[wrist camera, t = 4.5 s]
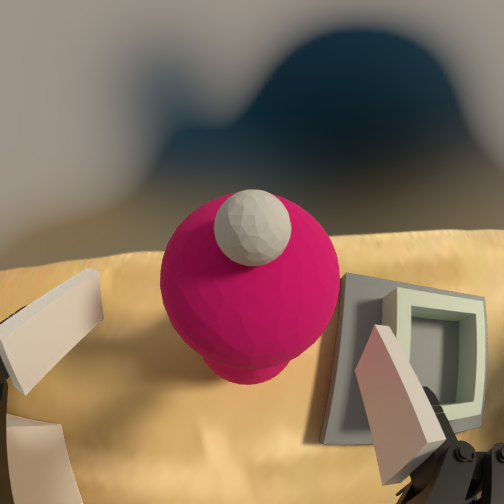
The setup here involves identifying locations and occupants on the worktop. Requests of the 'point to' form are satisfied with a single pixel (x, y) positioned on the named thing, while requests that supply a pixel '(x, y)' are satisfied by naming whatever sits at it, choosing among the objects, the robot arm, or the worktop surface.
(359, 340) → the socket board
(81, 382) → the worktop surface
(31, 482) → the white notched cradle block
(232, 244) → the pepper mill
